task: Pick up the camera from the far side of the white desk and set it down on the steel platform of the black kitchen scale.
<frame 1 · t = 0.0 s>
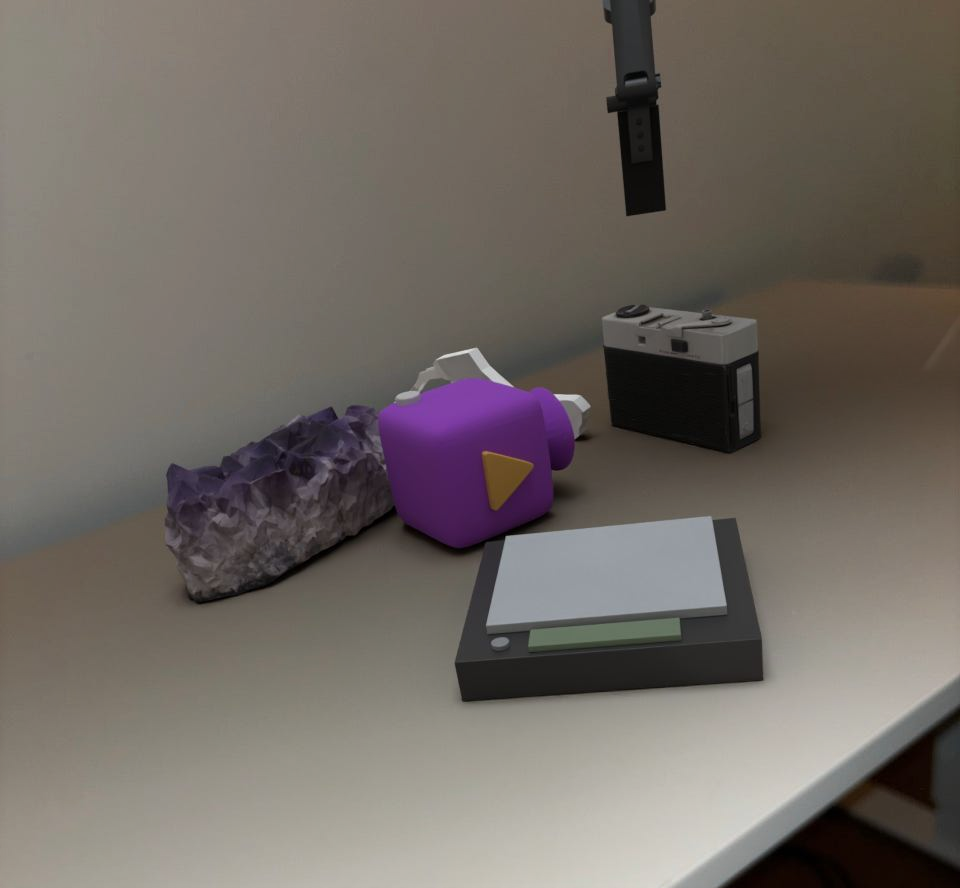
hand: (644, 198, 79), 19 cm above the table, tool pointing down, fingers open, 13 cm apart
geode: (297, 545, 81), on the table
camera: (698, 427, 89), on the table
toy camera: (493, 515, 80), on the table
scale: (610, 621, 63), on the table
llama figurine: (493, 436, 96), on the table
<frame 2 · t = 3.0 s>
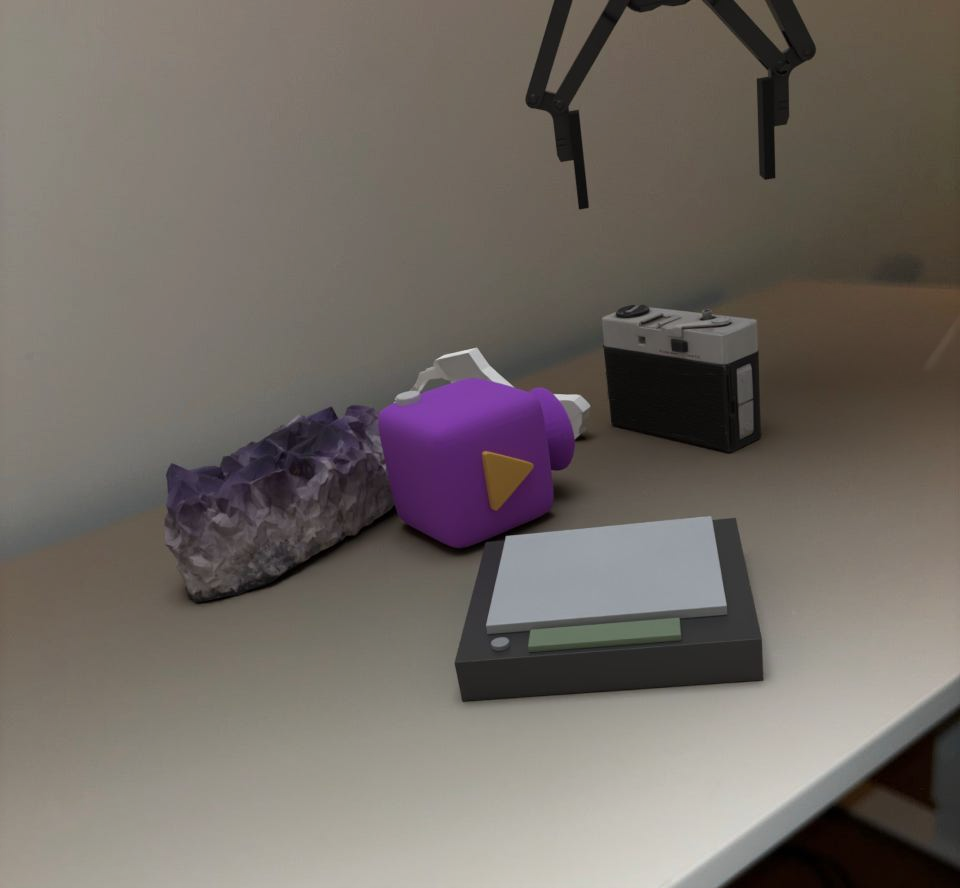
hand: (674, 192, 80), 19 cm above the table, tool pointing down, fingers open, 13 cm apart
nothing on the table moved.
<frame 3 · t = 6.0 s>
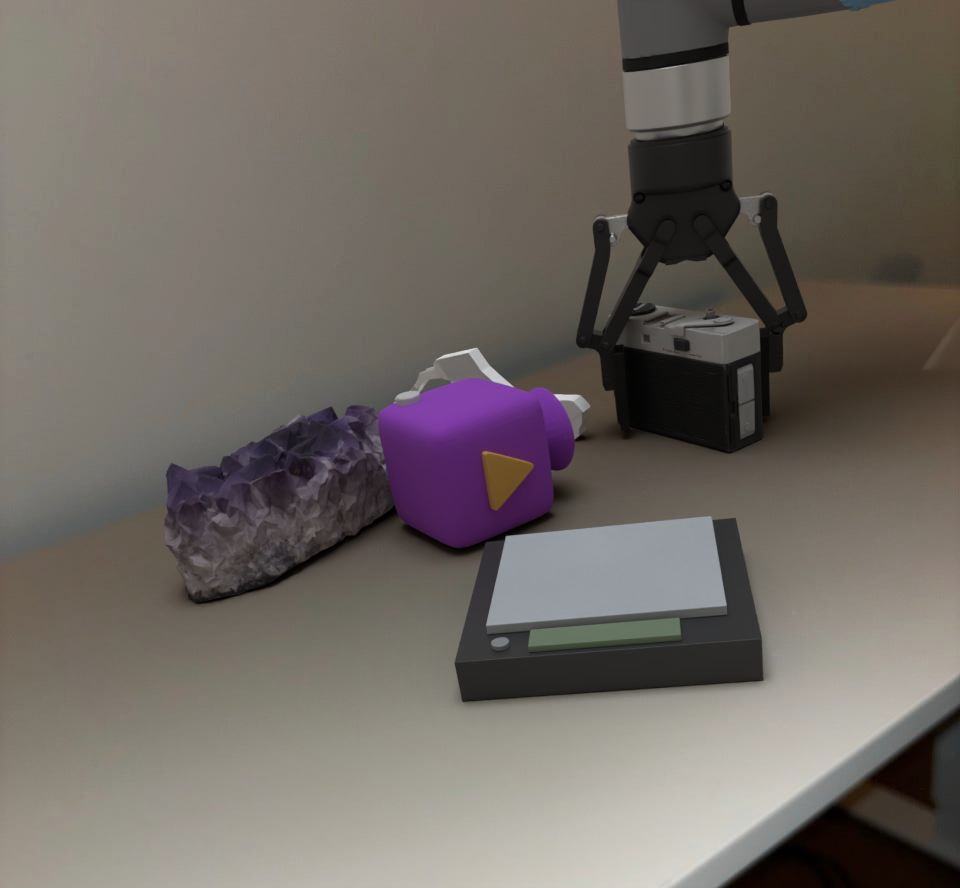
hand: (693, 418, 89), 1 cm above the table, tool pointing down, fingers closed on camera, 11 cm apart
camera: (703, 427, 89), on the table, touching gripper
everything else where it was.
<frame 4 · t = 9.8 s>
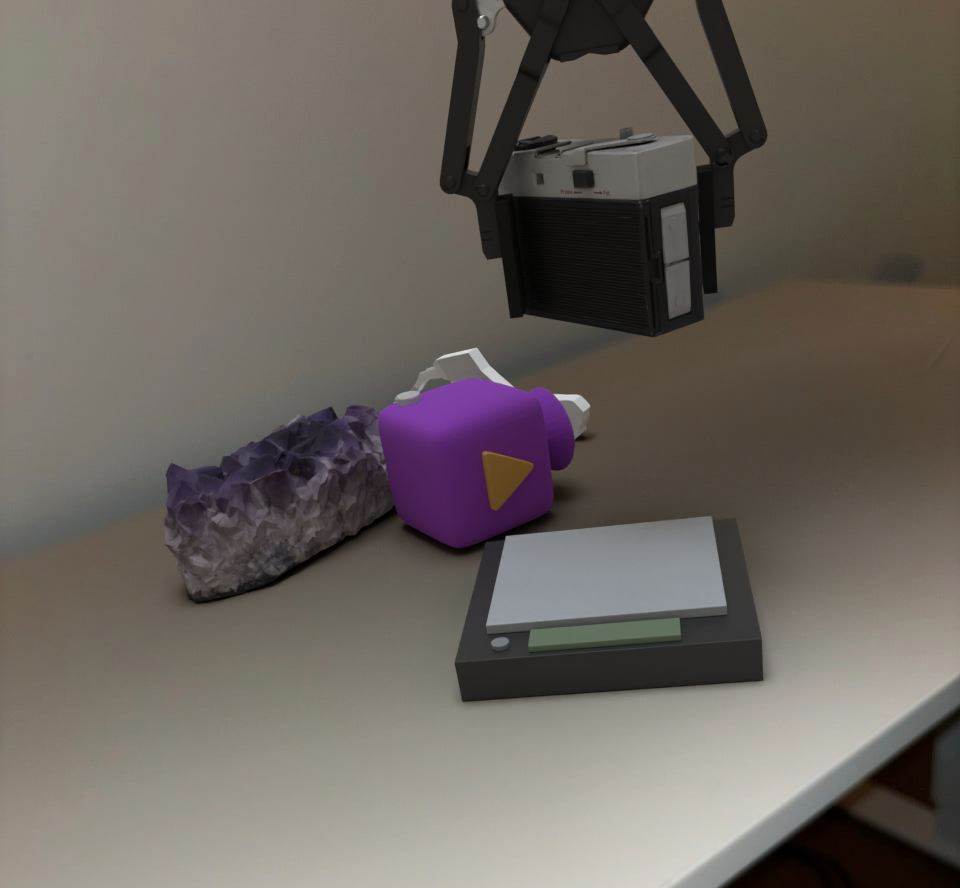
hand: (612, 300, 63), 16 cm above the table, tool pointing down, fingers closed on camera, 11 cm apart
camera: (626, 312, 63), point 15 cm above the table, touching gripper
everything else where it was.
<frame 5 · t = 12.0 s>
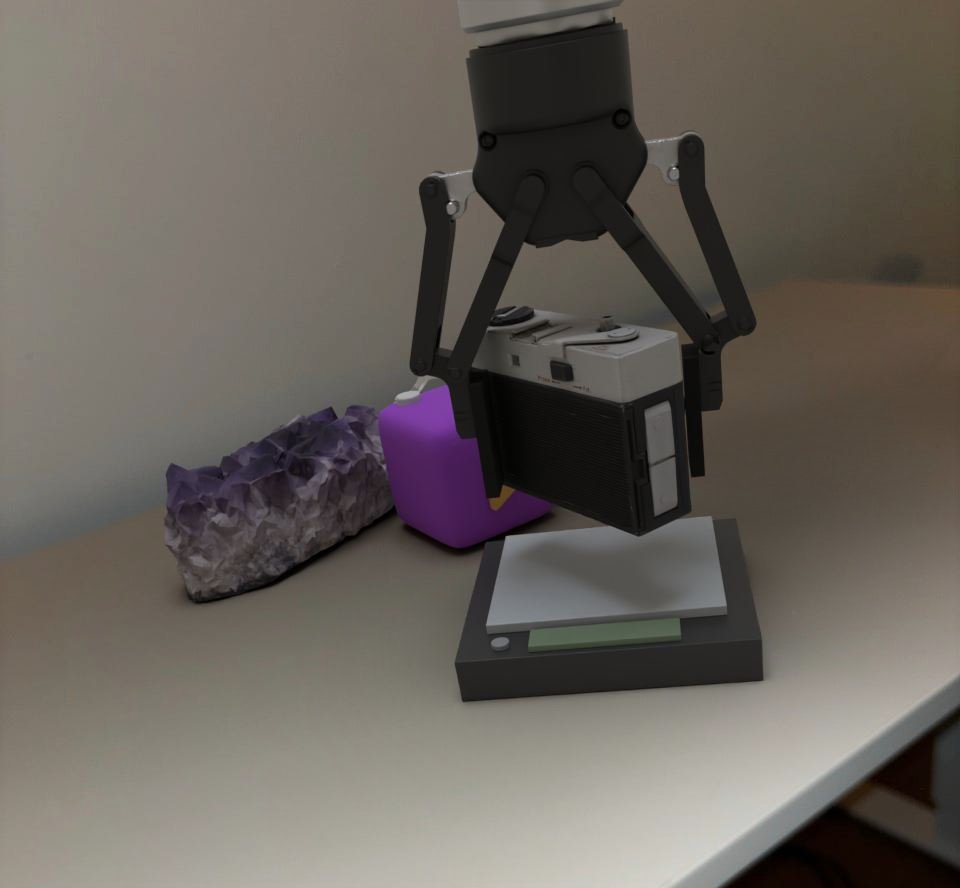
hand: (594, 478, 60), 9 cm above the table, tool pointing down, fingers closed on camera, 10 cm apart
camera: (609, 489, 60), point 8 cm above the table, touching gripper
everything else where it was.
when the fingers open (4 cm above the table, at t = 13.8 s): camera stays where it is, resting on scale.
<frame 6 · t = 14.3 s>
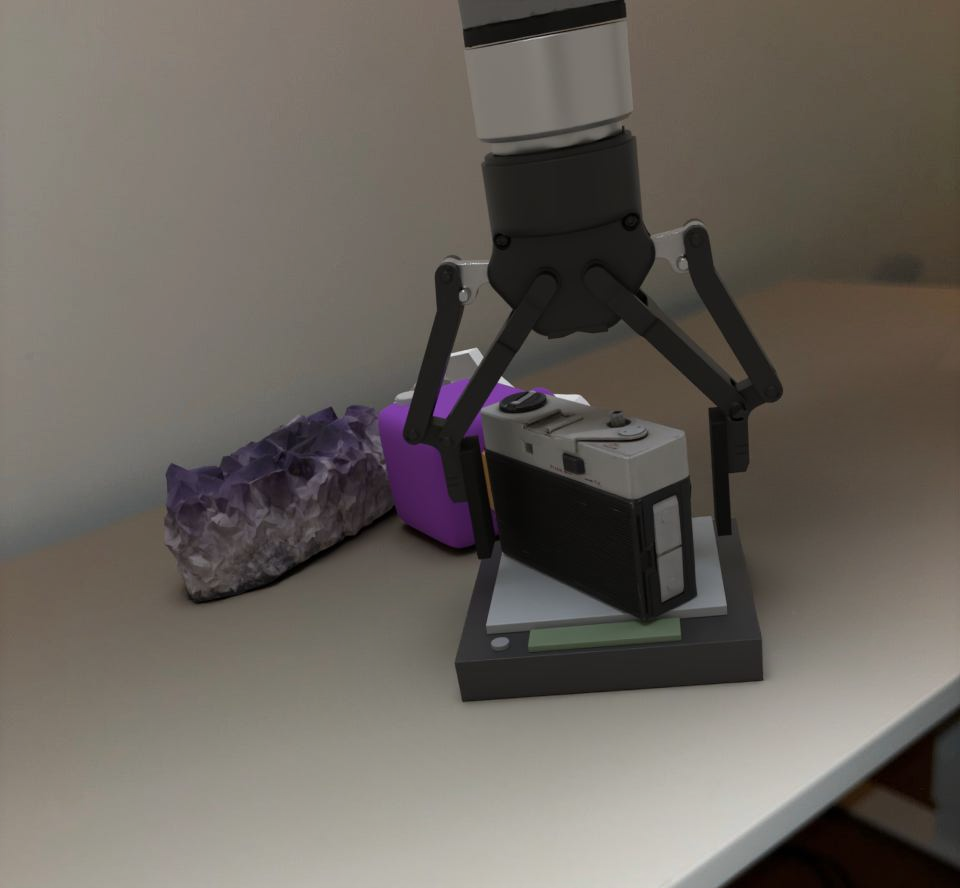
hand: (602, 538, 61), 5 cm above the table, tool pointing down, fingers open, 13 cm apart
camera: (617, 567, 62), point 3 cm above the table, touching scale
everything else where it was.
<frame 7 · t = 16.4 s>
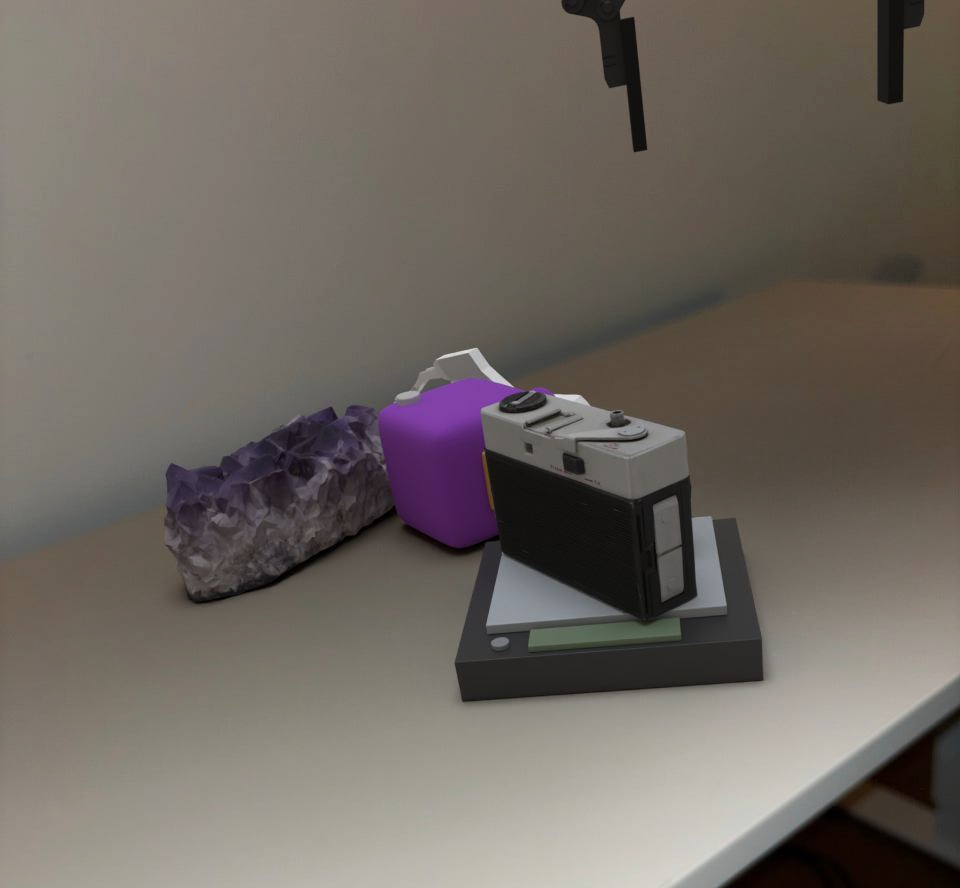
hand: (762, 126, 59), 24 cm above the table, tool pointing down, fingers open, 13 cm apart
nothing on the table moved.
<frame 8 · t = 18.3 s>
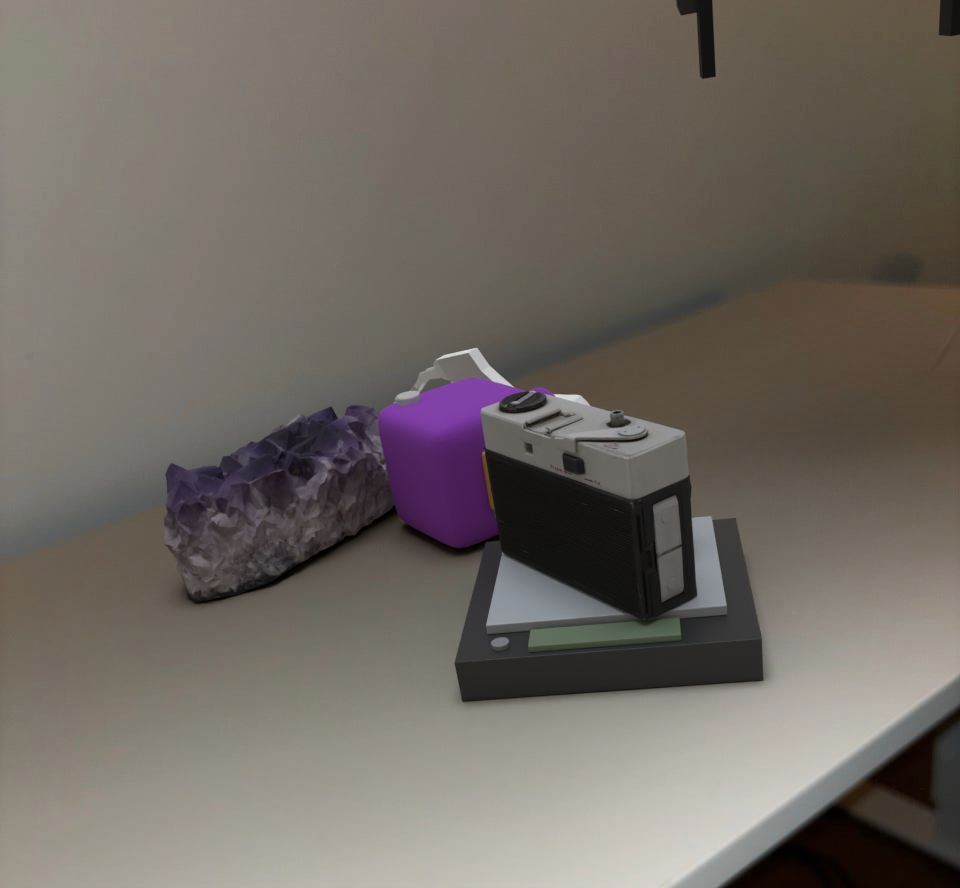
hand: (827, 57, 62), 27 cm above the table, tool pointing down, fingers open, 13 cm apart
nothing on the table moved.
at the end: camera inside the target area on the scale (0.7 cm from its centre), point 2.9 cm above the scale's base; camera tilted 0°; the gripper is holding nothing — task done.
